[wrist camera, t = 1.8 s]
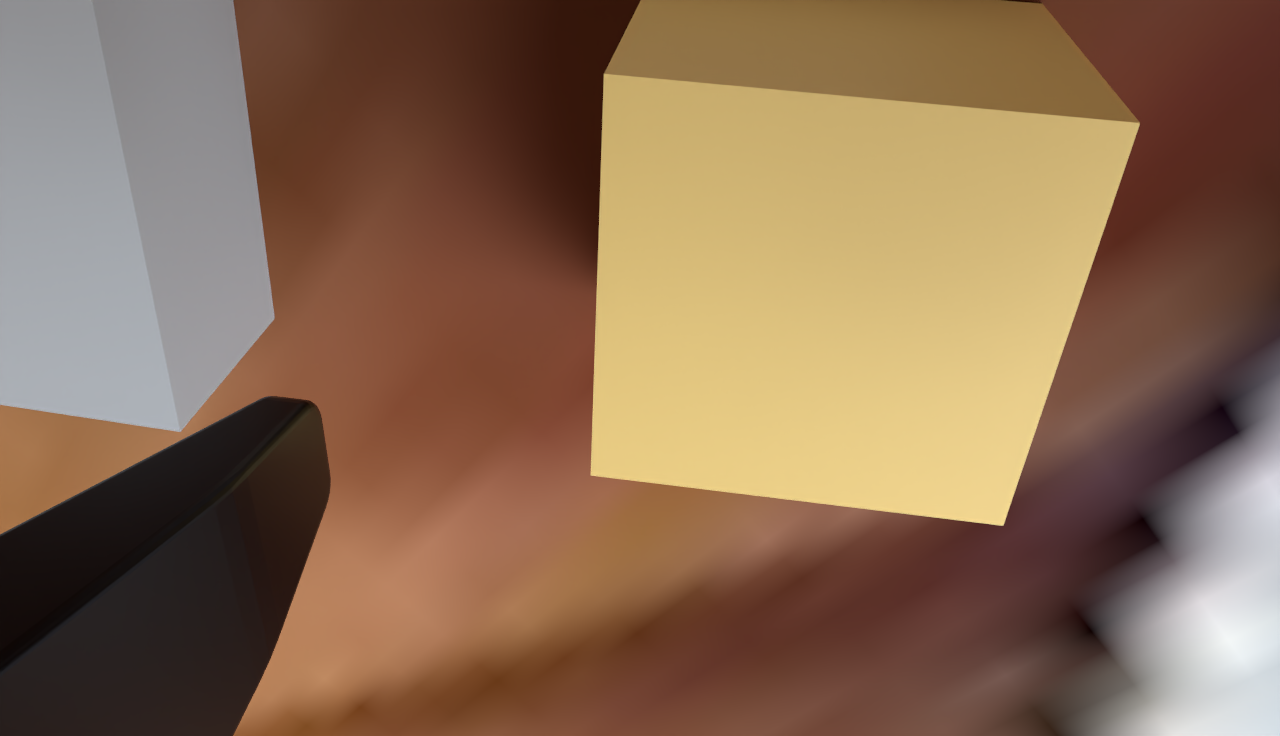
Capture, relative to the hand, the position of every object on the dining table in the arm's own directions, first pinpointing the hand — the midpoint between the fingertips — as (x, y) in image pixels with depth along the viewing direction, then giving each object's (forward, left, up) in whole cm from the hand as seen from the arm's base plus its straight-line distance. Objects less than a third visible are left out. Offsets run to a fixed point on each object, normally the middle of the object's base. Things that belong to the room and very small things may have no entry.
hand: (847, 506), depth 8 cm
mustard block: (0, 0, -8) cm, 8 cm away
